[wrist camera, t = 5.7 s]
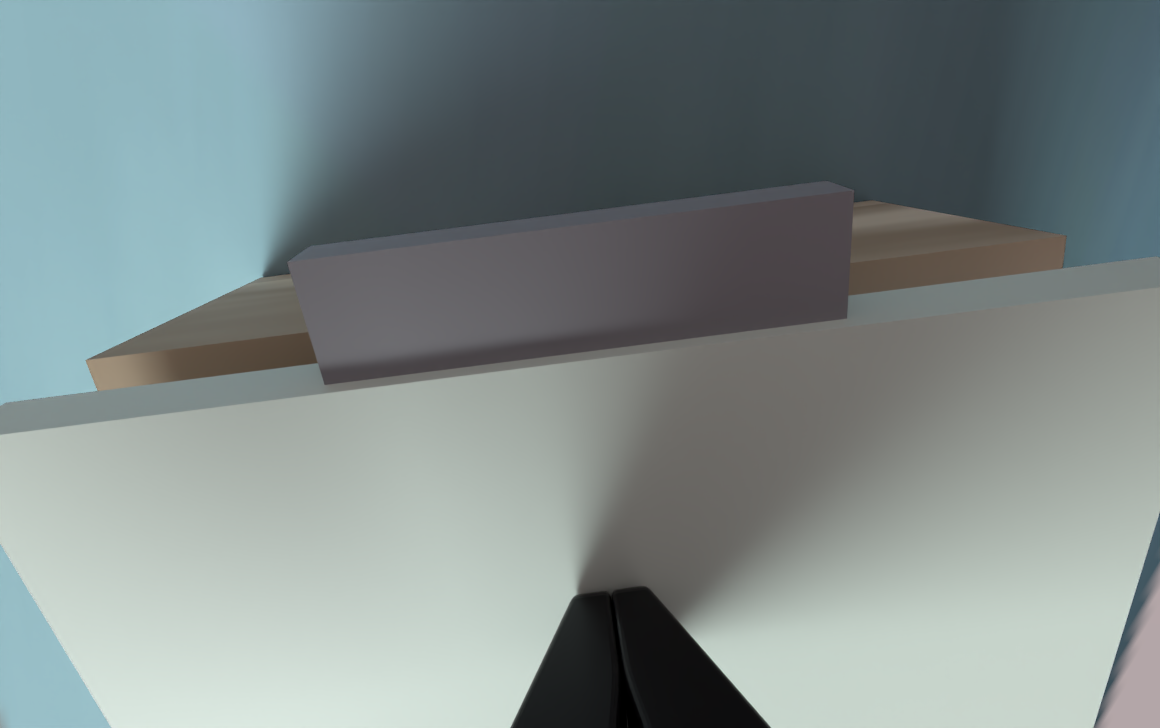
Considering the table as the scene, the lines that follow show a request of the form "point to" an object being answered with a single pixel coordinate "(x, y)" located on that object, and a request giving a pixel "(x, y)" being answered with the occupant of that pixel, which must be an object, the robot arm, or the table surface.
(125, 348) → the box
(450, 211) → the table surface
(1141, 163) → the table surface
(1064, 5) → the table surface
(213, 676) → the lid
